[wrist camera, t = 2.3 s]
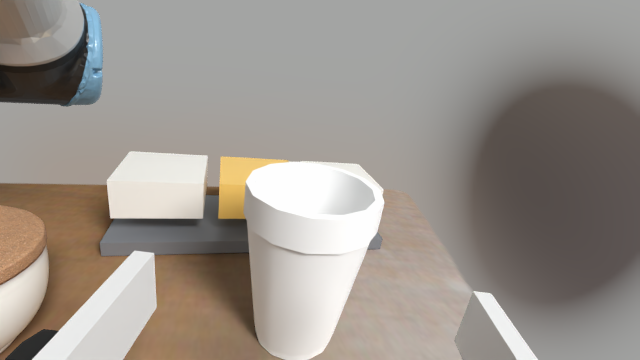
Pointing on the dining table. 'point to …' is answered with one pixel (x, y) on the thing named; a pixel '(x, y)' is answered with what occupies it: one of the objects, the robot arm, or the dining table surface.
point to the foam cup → (305, 250)
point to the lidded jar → (21, 270)
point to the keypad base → (182, 234)
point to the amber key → (236, 184)
